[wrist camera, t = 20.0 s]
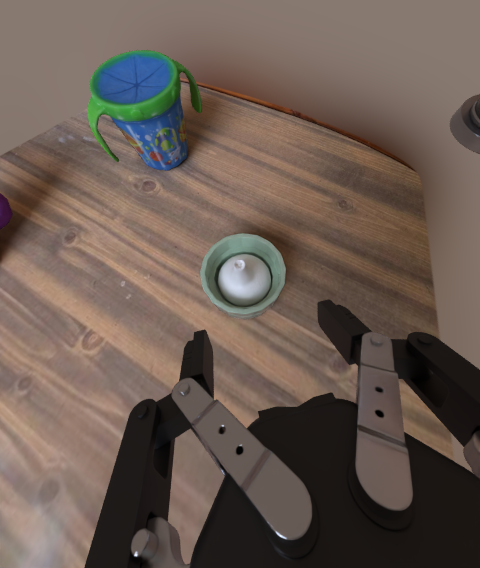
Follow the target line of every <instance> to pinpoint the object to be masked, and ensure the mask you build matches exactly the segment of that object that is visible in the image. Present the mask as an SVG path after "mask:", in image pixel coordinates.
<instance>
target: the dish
mask: <svg viewBox="0 0 480 568" xmlns="http://www.w3.org/2000/svg"><path fill="white" fill-rule="evenodd" d="M241 254H248V255H252V256H255V257H257V258H259V259H260V260H261V261H263V262H264V263H265V265H266V266H267V267H268V269H269V272H270V275H271V286H270V289H269V291H268V293H267V295H266V296H265V298H264V299H263V300H262V301H260V302H259V303H257V304H255V305H252V306H248V307H240V306H236V305H234V304H232V303H230V302H229V301H227V300H226V299H225V297H224V296H223V295H222V293H221V291H220V288H219V285H218V276H219V272H220V270H221V268H222V266H223V264H224V263H225V262H226V261H227V260H228V259H230V258H232V257H233V256H236V255H241ZM285 275H286V267H285V264H284V261H283V258H282V255H281V253H280V252H279V251H278V250H277V249H276V248H275V246H274V245H273V244H272V243H271V242H269V241H267V240H266V239H264V238H262V237H260V236H258V235H253V234H244V233H240V234H235V235H231V236H227V237H225V238H223V239H222V240H220V241H219V242H217V243H216V244H214V245H213V246H212V247H211V248H210V250H209V251H208V253H207V254H206V256H205V257H204V259H203V263H202V267H201V272H200V276H201V281H202V286H203V290H204V291H205V293H206V294H207V295H208V297H209V298H210V300H211V301H212V302H213V304H214V305H215V306H216V307H217V308H218V309H219V310H220V311H222V312H223V313H225V314H227V315H228V316H230V317H233V318H239V319H249V318H253V317H258V316H260V315H262V314H263V313H265V312H266V311H267V310H269V309H270V308H271V307H272V306H273V304H274V302H275V301H276V299H277V297H278V295H279V294H280V292H281V290H282V288H283V287H284V284H285Z"/></svg>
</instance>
